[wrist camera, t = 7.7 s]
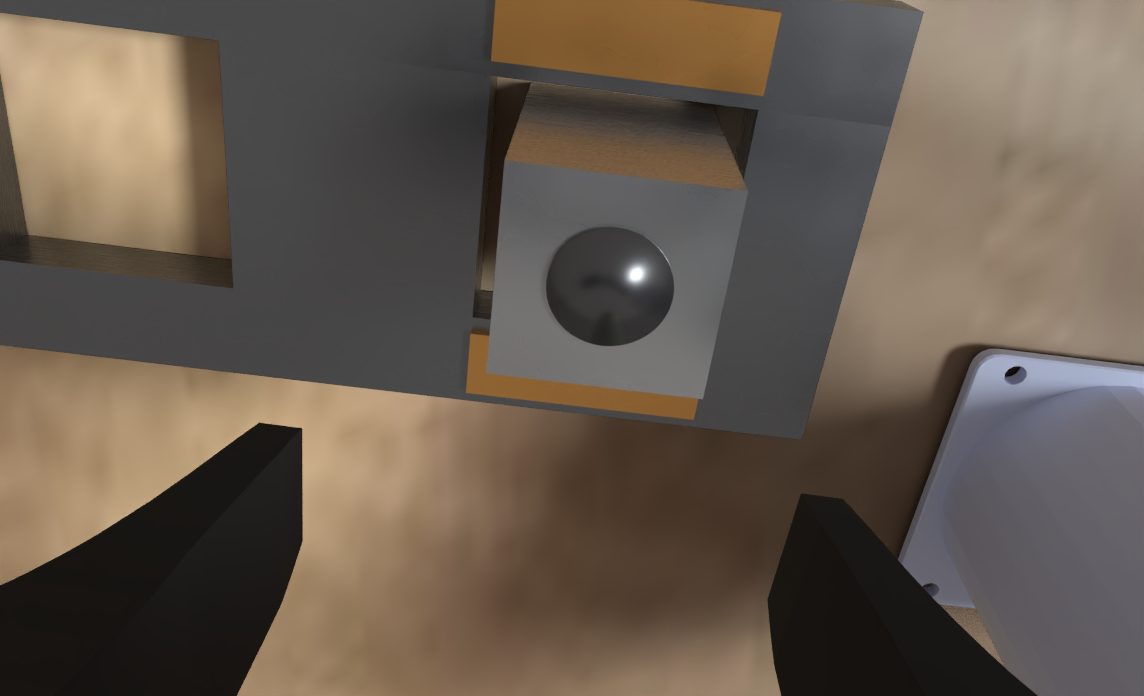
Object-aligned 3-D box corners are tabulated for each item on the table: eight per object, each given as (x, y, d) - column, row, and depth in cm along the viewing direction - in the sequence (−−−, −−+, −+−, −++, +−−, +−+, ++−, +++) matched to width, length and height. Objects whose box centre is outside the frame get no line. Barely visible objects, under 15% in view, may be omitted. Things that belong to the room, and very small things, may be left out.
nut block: (711, 104, 20) (748, 193, 15) (680, 270, 22) (703, 402, 17) (531, 81, 20) (504, 162, 15) (515, 250, 22) (485, 376, 17)
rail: (901, 1, 19) (926, 13, 18) (791, 407, 24) (803, 444, 22) (-172, -141, 18) (-241, -141, 17) (-68, 305, 23) (-115, 335, 22)
